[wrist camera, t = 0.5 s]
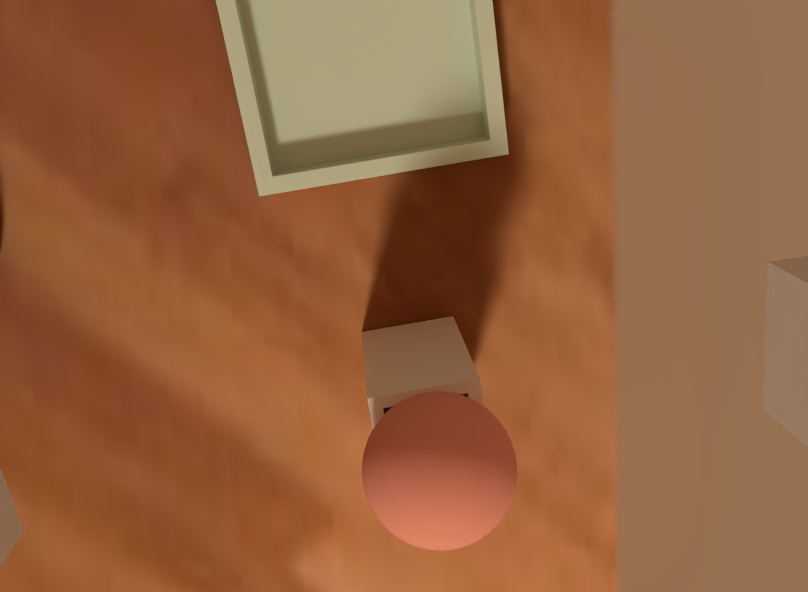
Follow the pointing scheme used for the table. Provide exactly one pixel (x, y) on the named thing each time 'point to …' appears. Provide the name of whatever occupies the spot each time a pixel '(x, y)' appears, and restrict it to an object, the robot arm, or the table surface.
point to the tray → (363, 86)
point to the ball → (439, 470)
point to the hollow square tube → (416, 364)
